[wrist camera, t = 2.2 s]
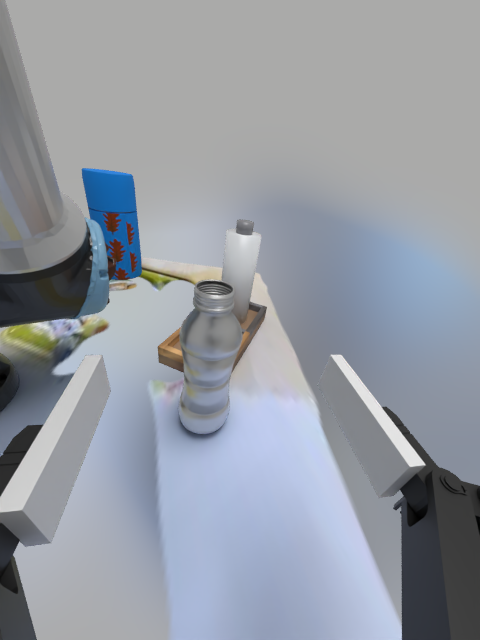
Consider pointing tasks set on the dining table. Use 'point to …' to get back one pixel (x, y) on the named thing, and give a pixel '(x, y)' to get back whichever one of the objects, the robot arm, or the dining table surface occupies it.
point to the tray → (256, 314)
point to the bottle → (241, 264)
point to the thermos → (115, 217)
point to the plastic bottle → (208, 356)
